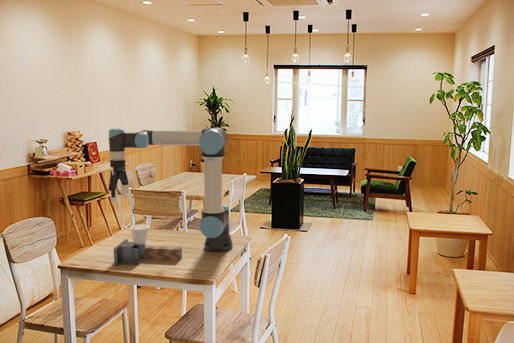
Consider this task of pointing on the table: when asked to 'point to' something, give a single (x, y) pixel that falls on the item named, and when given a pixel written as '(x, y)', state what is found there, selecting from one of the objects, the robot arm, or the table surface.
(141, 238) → the cup
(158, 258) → the slat
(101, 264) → the table surface
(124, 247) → the endcap
